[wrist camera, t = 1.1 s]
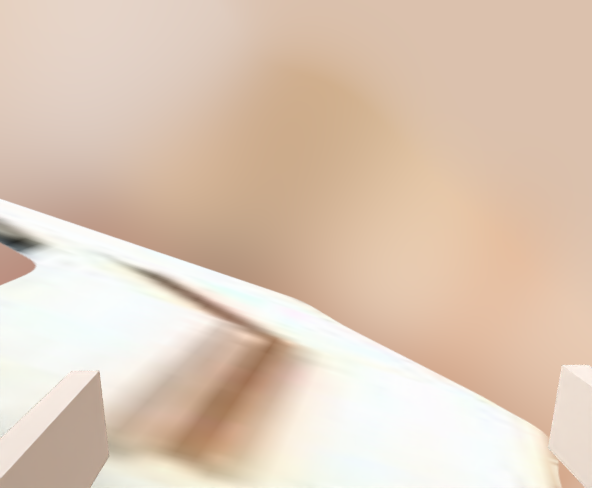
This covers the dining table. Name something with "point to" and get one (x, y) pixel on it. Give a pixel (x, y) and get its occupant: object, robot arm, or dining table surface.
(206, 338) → the dining table surface
